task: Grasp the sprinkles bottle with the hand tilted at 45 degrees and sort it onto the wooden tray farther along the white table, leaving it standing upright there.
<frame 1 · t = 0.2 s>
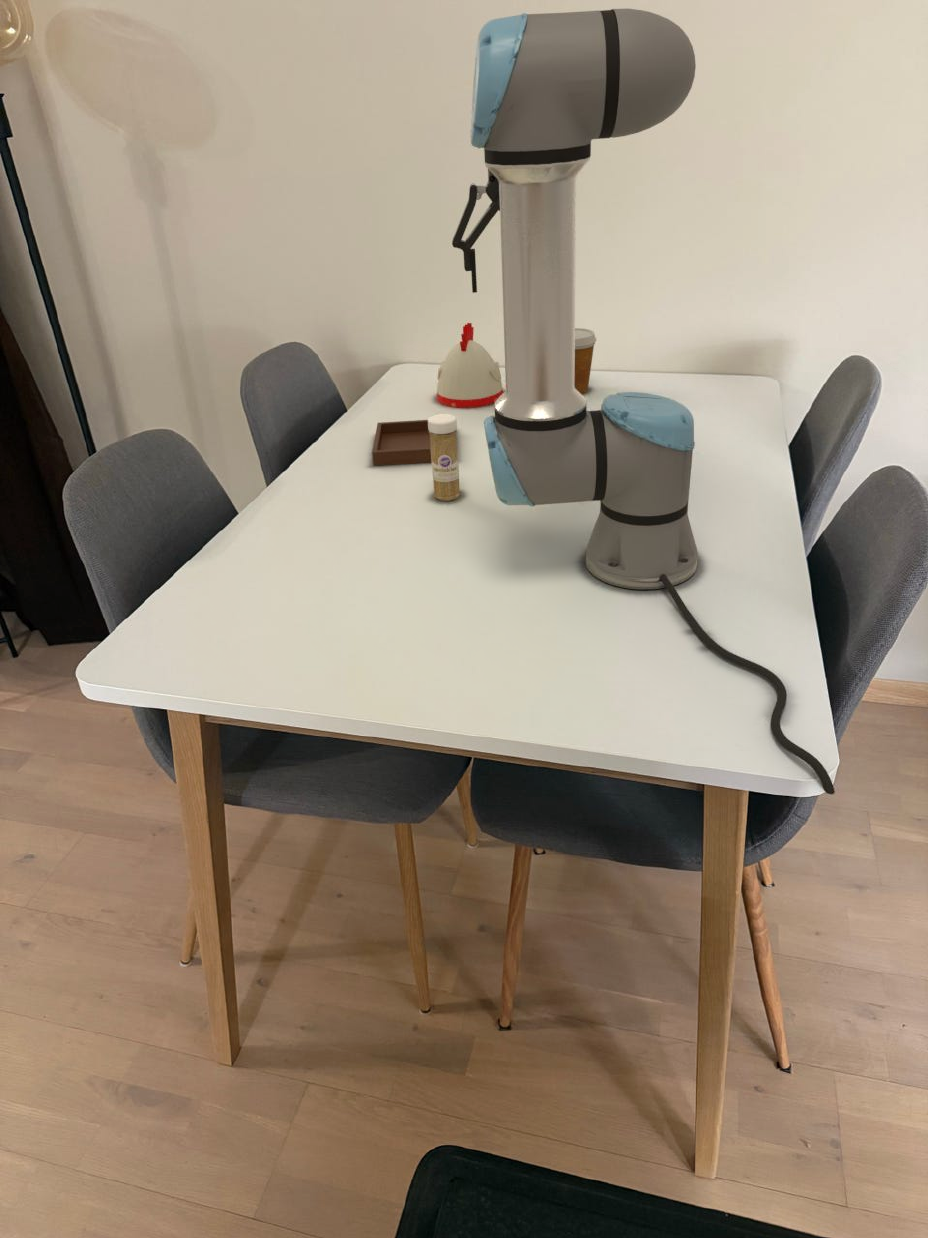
hand: (514, 288, 153), 28 cm above the table, tool pointing down, fingers open, 13 cm apart
kitchen timer: (470, 397, 193), on the table
wooden tray: (415, 447, 169), on the table
sprinkles bottle: (447, 497, 150), on the table
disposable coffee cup: (572, 391, 193), on the table
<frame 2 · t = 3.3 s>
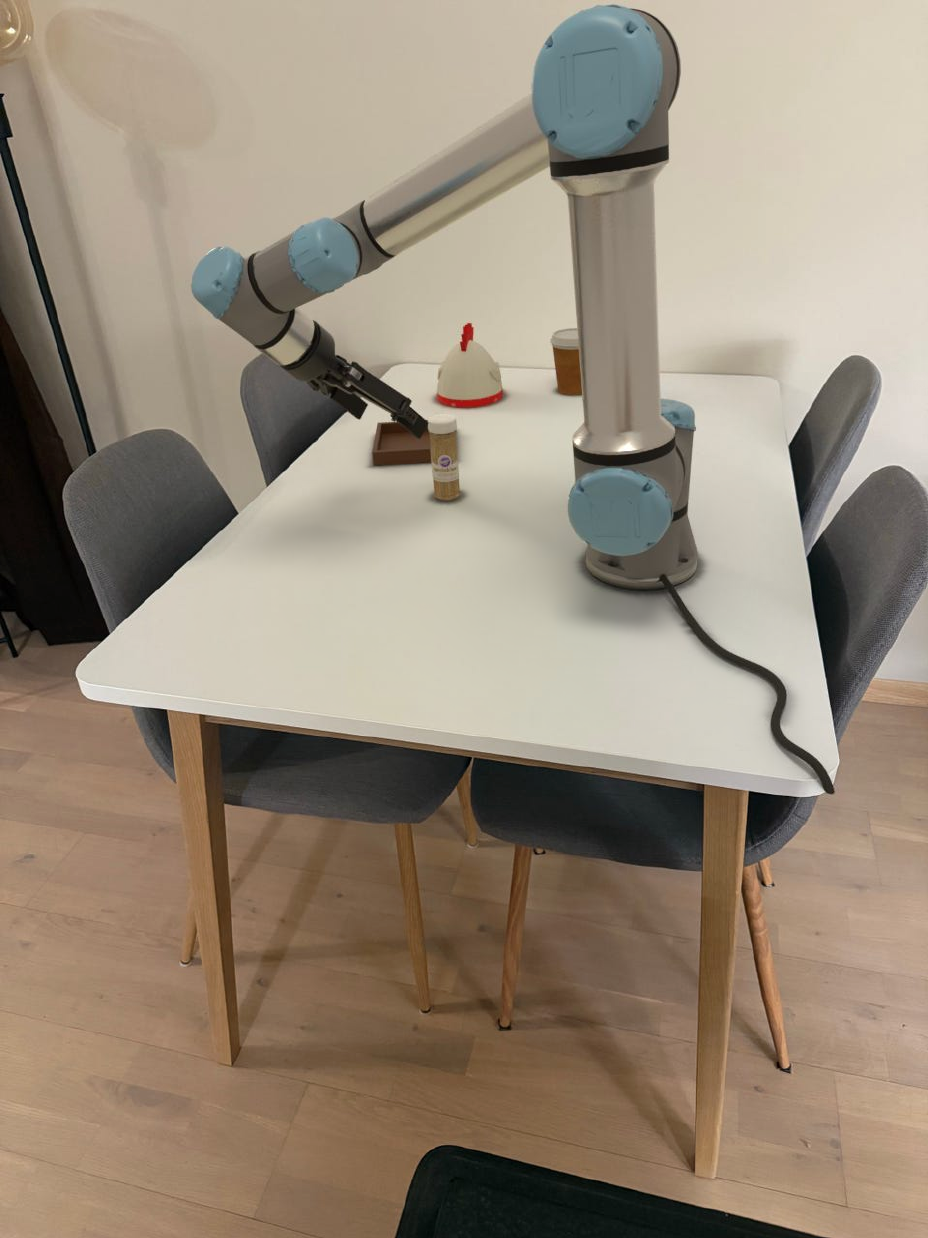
hand: (391, 420, 135), 16 cm above the table, tool tilted 45°, fingers open, 13 cm apart
nothing on the table moved.
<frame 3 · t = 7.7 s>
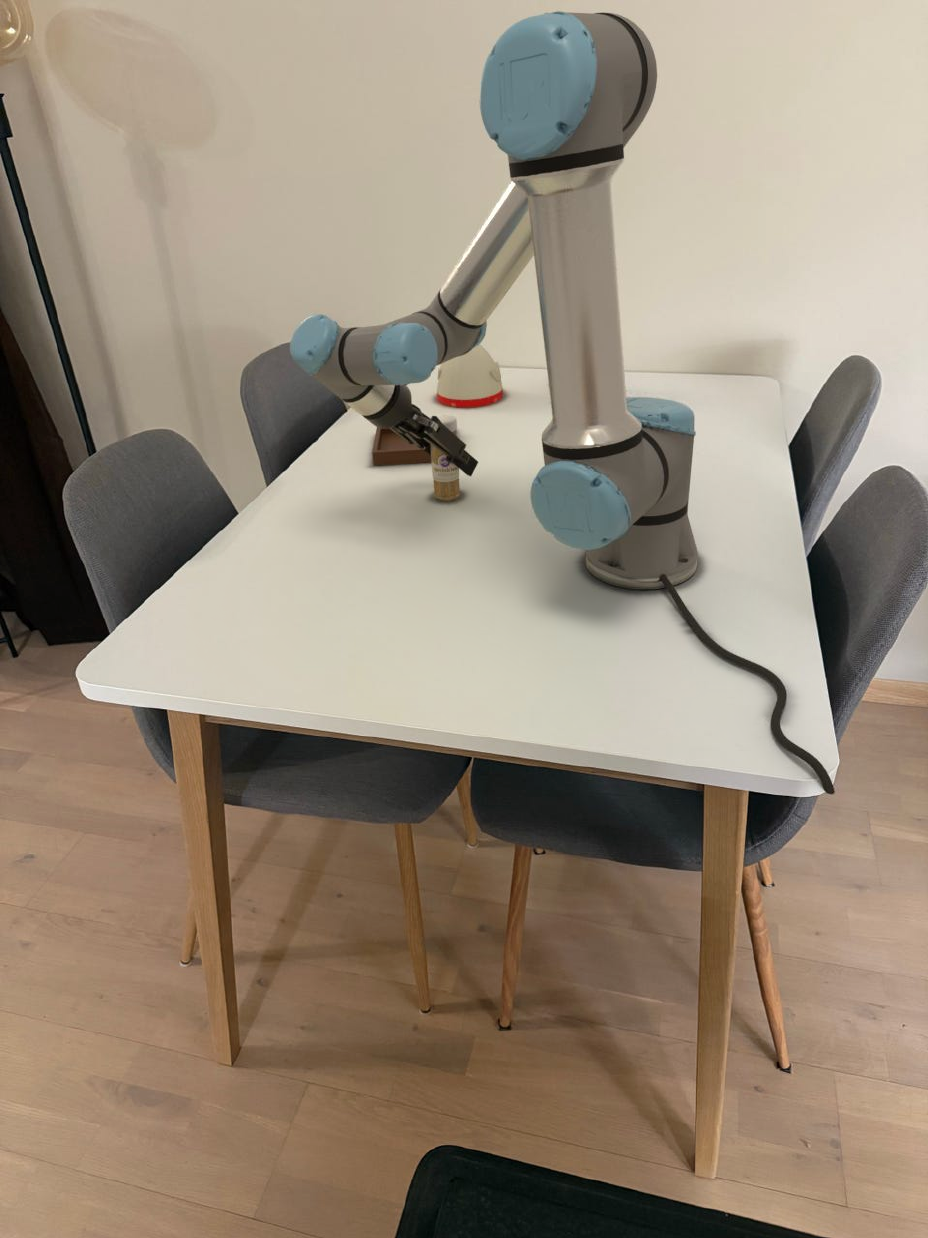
hand: (461, 464, 149), 4 cm above the table, tool tilted 45°, fingers closed on sprinkles bottle, 4 cm apart
sprinkles bottle: (447, 497, 150), on the table, touching gripper
everything else where it was.
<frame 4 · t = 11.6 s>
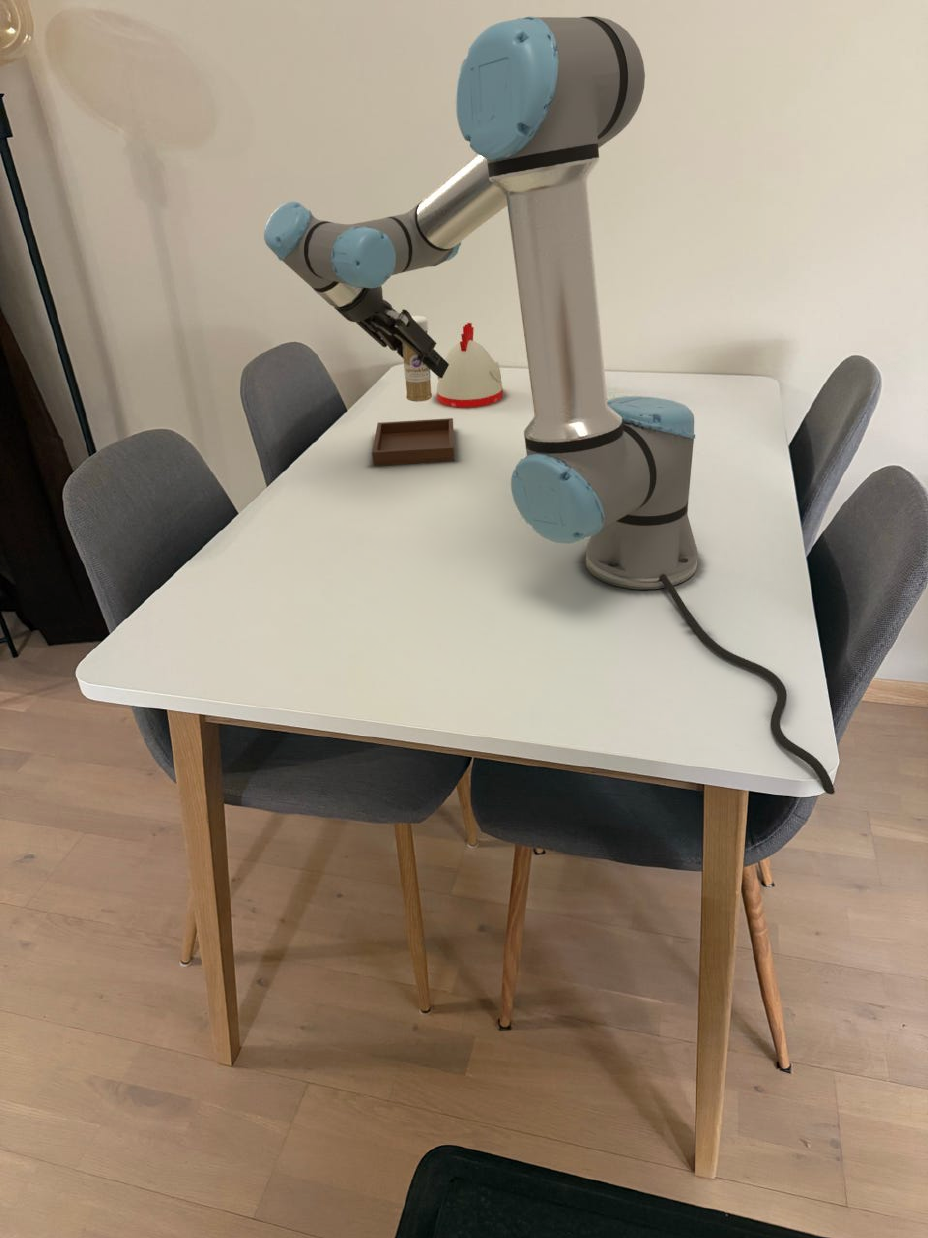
hand: (433, 368, 155), 16 cm above the table, tool tilted 45°, fingers closed on sprinkles bottle, 4 cm apart
sprinkles bottle: (419, 399, 155), point 12 cm above the table, touching gripper
everything else where it was.
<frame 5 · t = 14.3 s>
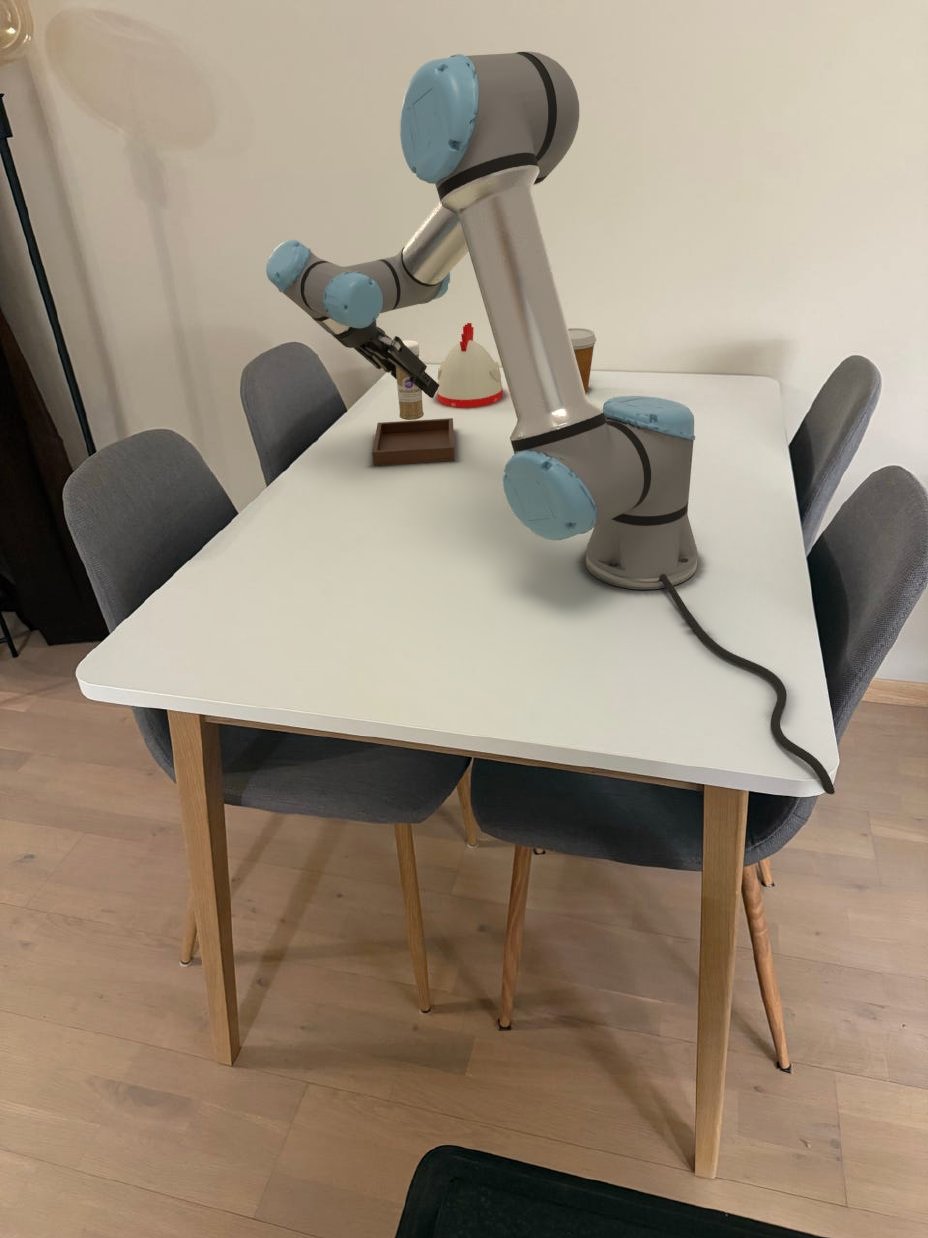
hand: (425, 388, 166), 10 cm above the table, tool tilted 45°, fingers closed on sprinkles bottle, 4 cm apart
sprinkles bottle: (412, 417, 166), point 6 cm above the table, touching gripper
everything else where it was.
when the fingers open (5 cm above the table, at t = 16.0 s): sprinkles bottle stays where it is, resting on wooden tray.
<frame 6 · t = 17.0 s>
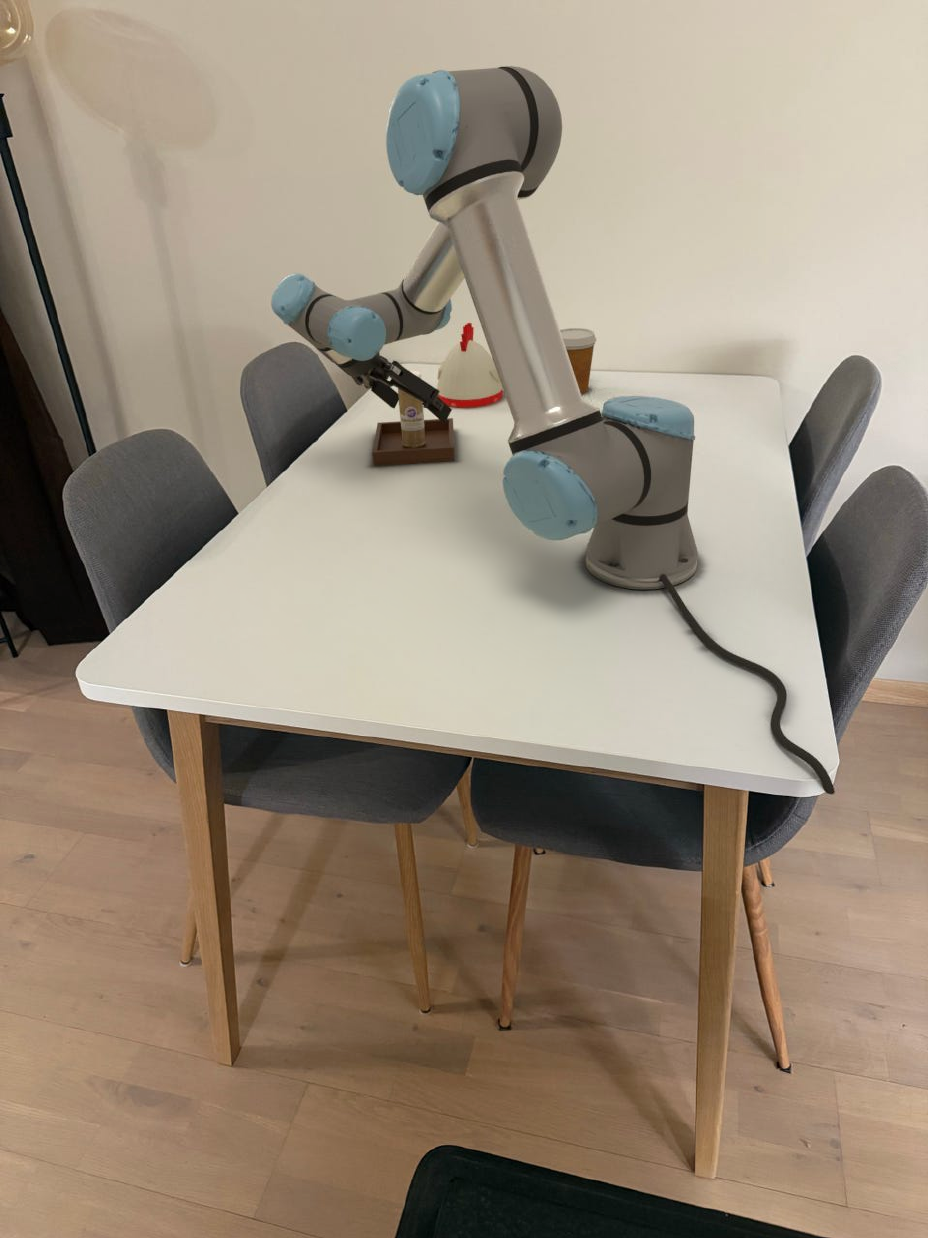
hand: (421, 408, 167), 7 cm above the table, tool tilted 45°, fingers open, 13 cm apart
sprinkles bottle: (414, 445, 169), resting on wooden tray
everything else where it was.
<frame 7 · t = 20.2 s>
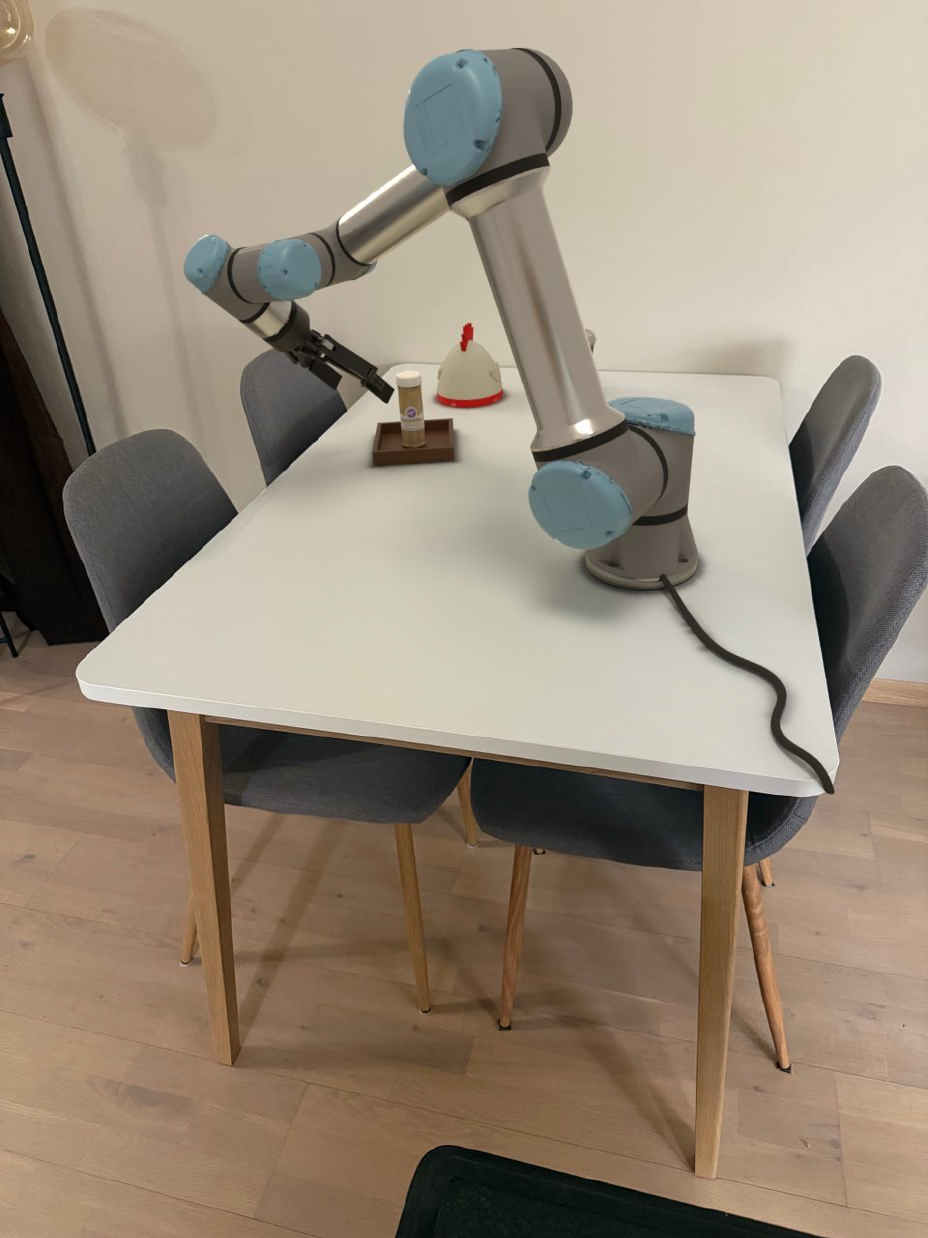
hand: (363, 389, 153), 15 cm above the table, tool tilted 45°, fingers open, 13 cm apart
nothing on the table moved.
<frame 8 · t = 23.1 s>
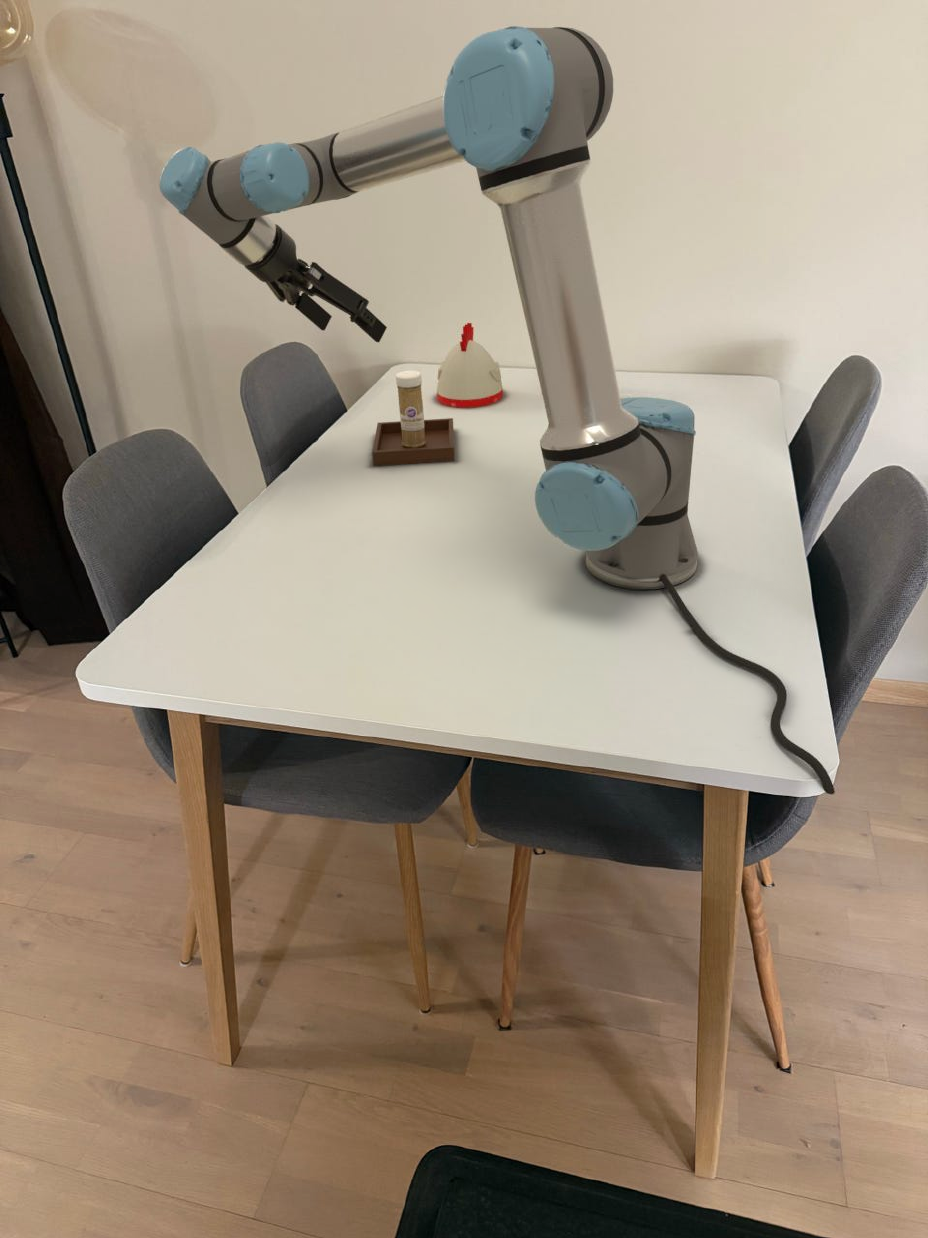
hand: (353, 328, 144), 26 cm above the table, tool tilted 45°, fingers open, 13 cm apart
nothing on the table moved.
at the end: sprinkles bottle inside the target area in the wooden tray (0.1 cm from its centre), point 0.4 cm above the wooden tray's base; sprinkles bottle tilted 0°; the gripper is holding nothing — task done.
